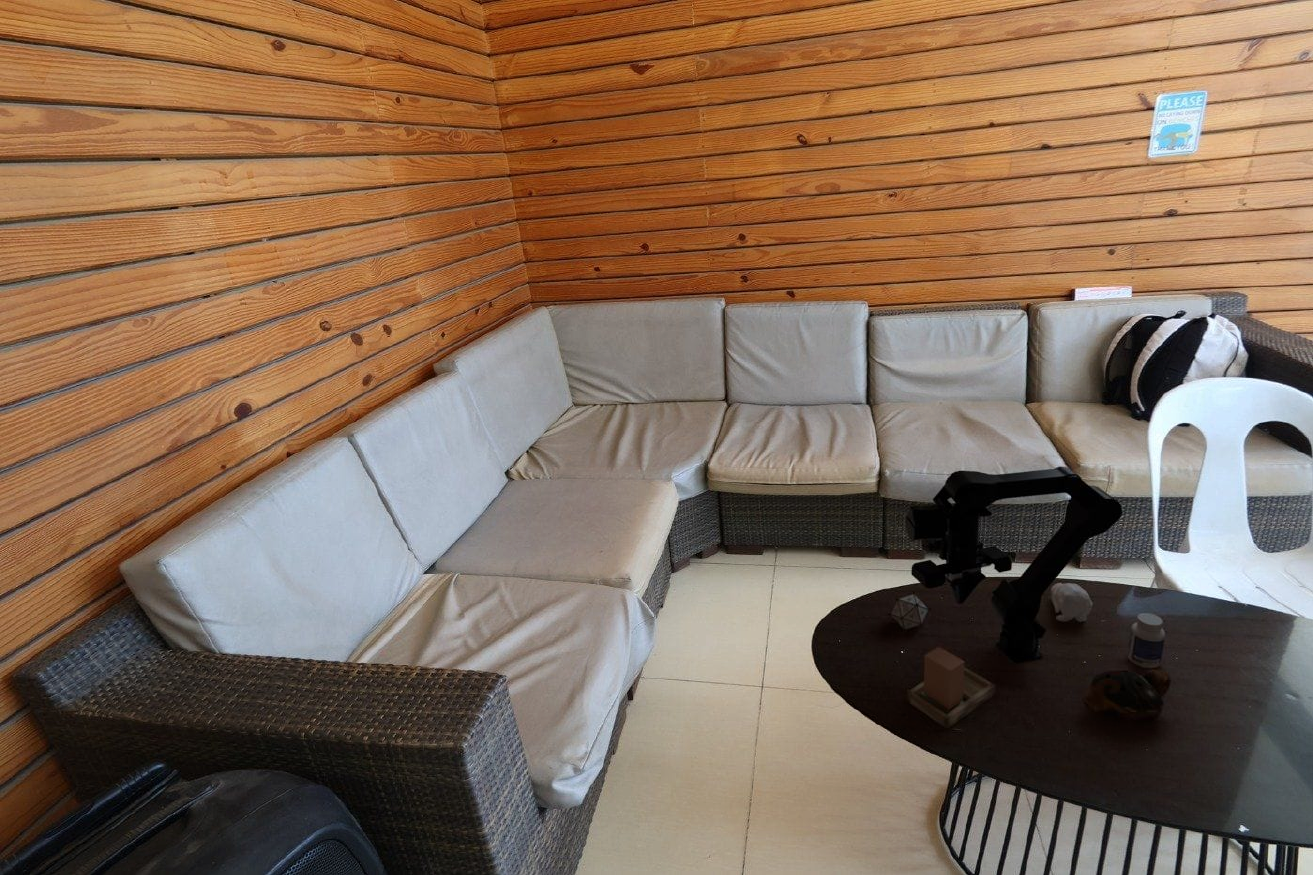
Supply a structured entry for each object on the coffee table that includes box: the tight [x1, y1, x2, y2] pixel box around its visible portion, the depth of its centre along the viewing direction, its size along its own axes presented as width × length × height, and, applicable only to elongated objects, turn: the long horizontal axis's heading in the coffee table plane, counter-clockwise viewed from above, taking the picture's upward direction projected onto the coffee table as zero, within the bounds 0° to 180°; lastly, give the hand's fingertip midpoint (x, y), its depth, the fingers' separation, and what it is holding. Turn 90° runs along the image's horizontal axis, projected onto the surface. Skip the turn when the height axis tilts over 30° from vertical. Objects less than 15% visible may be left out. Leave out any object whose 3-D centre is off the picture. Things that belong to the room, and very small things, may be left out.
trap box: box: [906, 666, 996, 729], centre depth 130 cm, size 14×9×2 cm, turn 121°
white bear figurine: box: [1048, 582, 1093, 623], centre depth 149 cm, size 6×8×12 cm
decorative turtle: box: [1081, 668, 1172, 725], centre depth 121 cm, size 10×15×8 cm, turn 100°
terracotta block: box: [923, 646, 966, 710], centre depth 127 cm, size 4×6×9 cm
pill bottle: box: [1127, 612, 1166, 669], centre depth 132 cm, size 5×5×10 cm
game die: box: [886, 590, 933, 634], centre depth 150 cm, size 9×8×10 cm
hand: (959, 602), depth 137 cm, fingers closed
